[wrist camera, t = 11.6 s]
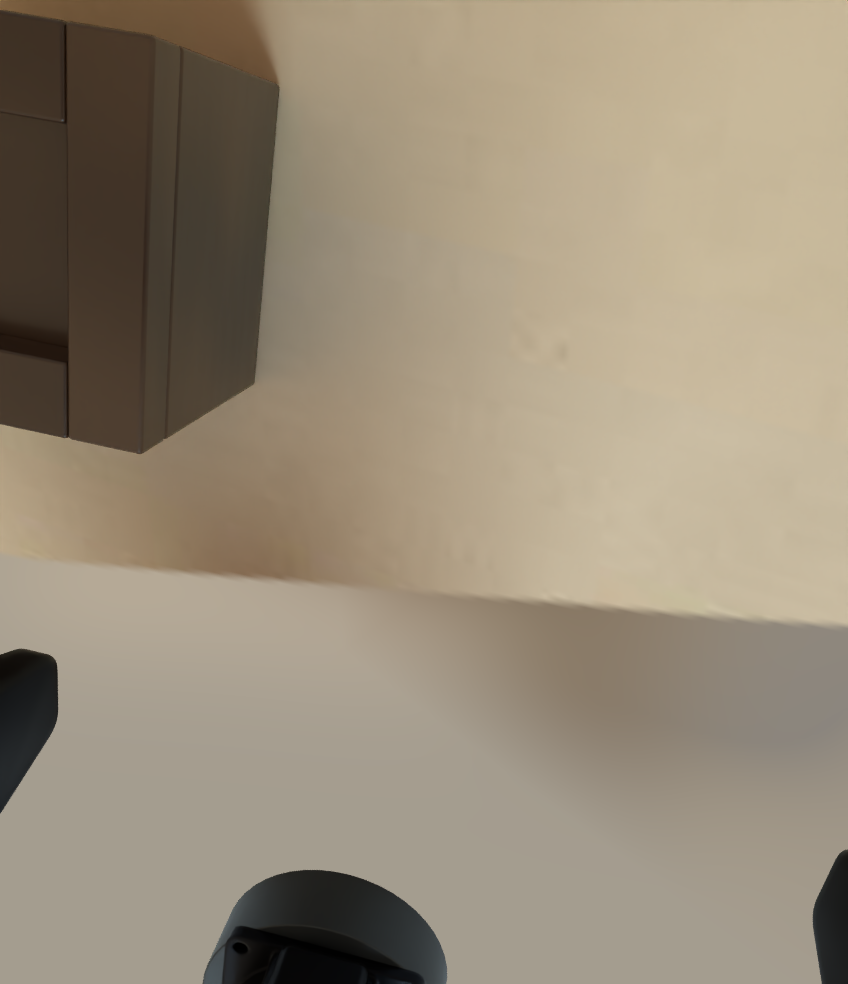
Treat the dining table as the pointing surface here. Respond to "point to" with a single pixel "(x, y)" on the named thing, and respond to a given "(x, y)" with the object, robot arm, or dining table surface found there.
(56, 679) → the robot arm
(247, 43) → the dining table surface
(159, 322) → the stand
